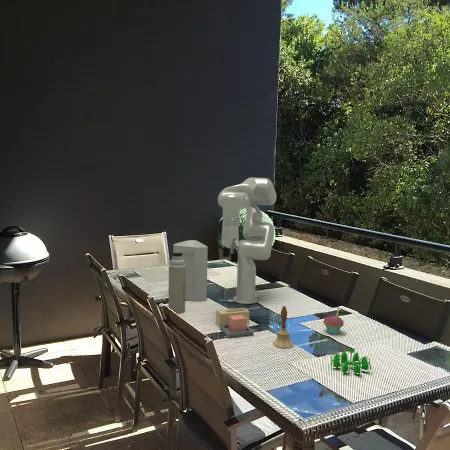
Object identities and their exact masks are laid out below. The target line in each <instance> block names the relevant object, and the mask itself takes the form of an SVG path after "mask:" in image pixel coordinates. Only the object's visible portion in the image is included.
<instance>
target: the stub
mask: <svg viewBox="0 0 450 450" xmlns="http://www.w3.org/2000/svg"><path fill="white" fill-rule="evenodd" d="M246 323H247V318H245V317H244V316H243V315H234V316H229V330H230V331H231V332H232V333H235V332H244V331H246V325H247V324H246Z"/></svg>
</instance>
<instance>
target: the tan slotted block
mask: <svg viewBox="0 0 450 450" xmlns="http://www.w3.org/2000/svg"><path fill="white" fill-rule="evenodd" d="M234 315H243V316H244V317H245V318H247V323H246V325H249V324H250V311H249V310H248V309H247V308H246V307H239V308H238V307H237V308H229V309H218V310H215V324H216V326H217V327H218V328H220V325H226V324H229V316H234Z"/></svg>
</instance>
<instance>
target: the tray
mask: <svg viewBox="0 0 450 450" xmlns="http://www.w3.org/2000/svg"><path fill="white" fill-rule="evenodd" d="M219 330H220V331H221V332H222V333H223V334H224V335H225V336H226V337H227V338H228V339H233V338H243V337H252V336H254V330H253V329H251V328H250V327H249V326H248V324H246V331H244V332H235V333H232V332H231V331H230V330H229V324H226V325H220V327H219Z"/></svg>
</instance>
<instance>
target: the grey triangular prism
mask: <svg viewBox="0 0 450 450" xmlns="http://www.w3.org/2000/svg"><path fill="white" fill-rule="evenodd" d="M208 248H209V246H207V245H205V244H203V243H202V242H200V241H198V240H195V239H193V240H192V239H190V240H185V241H181V242H177V243H174V244H173V249H172V250H173V252H172V253H182V254H183V255H182V256H183V260H184V262H185V263H184V264H185V265H186V287H185V301H189V302H195V303H200V302H201V303H202V302H207V299H208V298H207V297H208V292H207V290H208V289H207V288H208V256H209V255H208V251H209V249H208Z"/></svg>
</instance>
